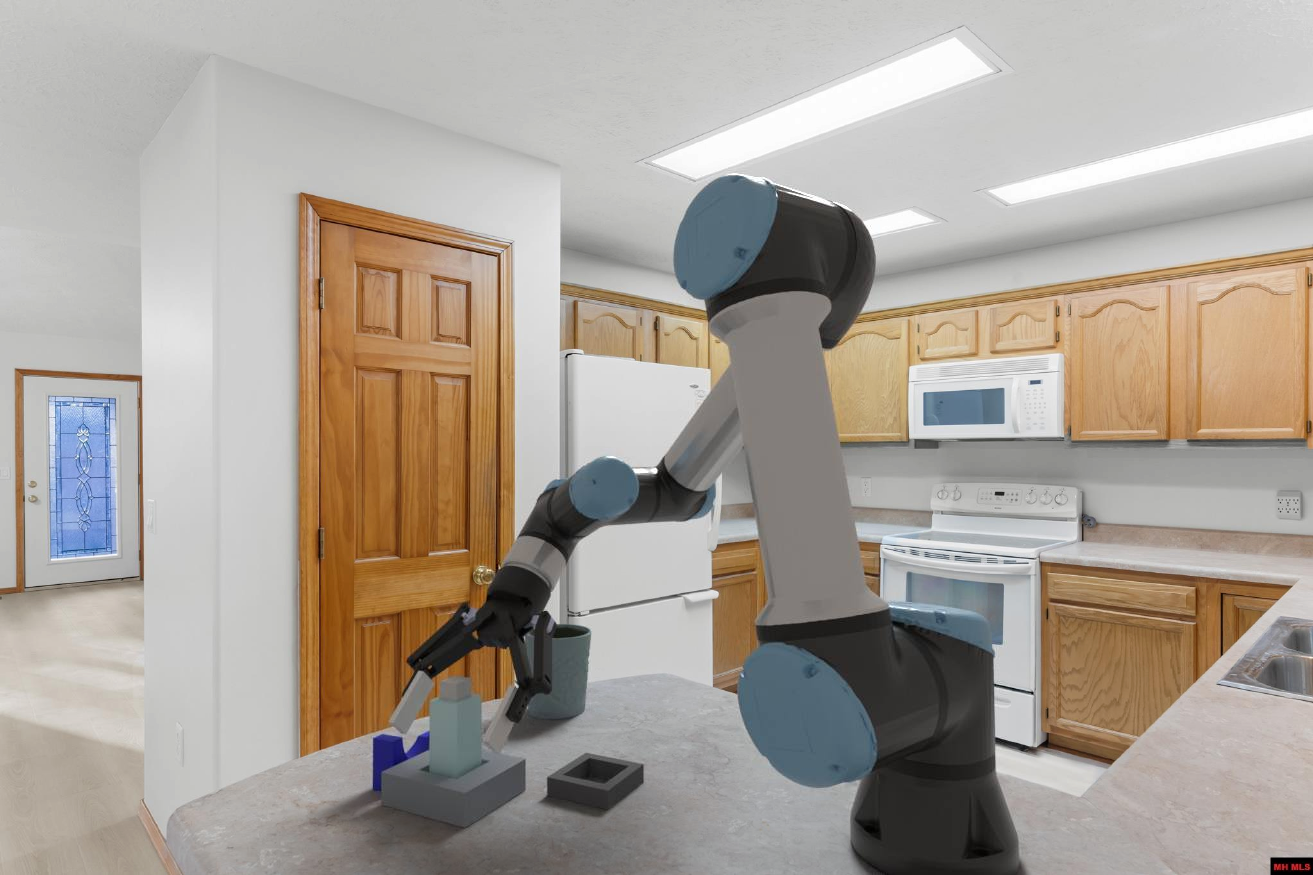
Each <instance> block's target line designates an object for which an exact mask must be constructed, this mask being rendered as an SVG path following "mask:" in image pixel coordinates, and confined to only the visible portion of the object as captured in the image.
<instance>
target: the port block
mask: <svg viewBox="0 0 1313 875" xmlns="http://www.w3.org/2000/svg"><path fill="white" fill-rule="evenodd" d="M526 764H527V763H526V758H524V757H519V756H514V755H509V754H504V753H500V754H496V753H493V752H492V751H491V750H490V751H489V750H485V749H482V766H480V767H478V768H476V769H474V770H472V771H471V772H469V773H467V774H465V775H463V776H461V777H459V778H457V779H454V778H450V777H446V776H442V775H438V774H434V773H429V750H428V751H426V752H424V753H421V754H419V755H417V756H415V757H413V758H411V759H408V760H406V761H404V762H402V763H400V764H398V765H396V766H393V767H391V768H389V769H387V770H385V771H383V772H381V792H380V796H381V799H380V800H381V801H380V802H381V806H385V807H390V808H393V809H397V810H400V811H403V812H407V813H410V814H413V815H417V816H421V817H425V818H428V819H433V820H436V821H439V822H443V823H447V824H450V825H453V826H457V827H459V828H464V829H466V828H467V827H469V826H471V825H473V824H474V823H475V822H477V821H479V820H480V819H482V818H483V817H485V816H487V815H488V814H489V813H491V812H493V811H495V810H496V809H498V808H500V807H501V806H503V805H505V804H506V803H508V802H509V801H510V800H512V799H514V798H515V797H517V796H518V795H520V794H521V793H524V792H525V791H526V787H527V786H526V784H527V781H526V780H527V779H526V776H527V774H526V766H527V765H526Z"/></svg>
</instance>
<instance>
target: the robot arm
mask: <svg viewBox="0 0 1313 875" xmlns="http://www.w3.org/2000/svg"><path fill="white" fill-rule="evenodd" d="M674 239H675V240H674V245H673V253H672V254H673V259H672V260H673V269H674V276H675V278H676V281H677V283H678V284H679V286H680V288H681V289H682V290H684V291H685V292H686V293H687V294H688V295H690V296H691V297H692V298H693V299H696V300H701V301H704V308H705V310H706V318H707V325H708V330H709V333H710V334H711V335H713V337H715V338H716V339H718V340H720V341H721V342H722V343H724V344H725V345H726V346H727V348H728V349H727V350H728V356H729V362H730V363H729V365H728V366H727V367H726V369H725V371H723V373H722V374H721V376H720V377H719V379H718V380H717V382H716V383H715V385H714V386H713V387H712V388H711V390H710V391H709V393H707V395H706V396H705V398H704V400H703V401H702V402H701V404H700V405H699V407H698V408H697V409H696V411H695V413H694V414H693V416H691V418H690V420H689V421H688V422H687V424H686V425H685V427H683V429H682V431H681V432H680V433H679V435H678V436H677V438H676V439H675V440H674V442H673V443H672V445H671V446H670V447H669V449H668V450H667V452H666V453H665V454H664V455H663V457H662V458H661V460H660V461H659V463H658V464H657V465H655V466H636V467H634V466H633V467H631V465H630V464H629V463H627V462H626V461H623V460H621V459H619V458H618V457H616V456H613V455H602V456H599V457H597V458H595V459H593V460H592V461H590V462H588V463H586V464H585V465H583V466H581V467H580V468H579V469H577V471H576V472H575V473H574V474H572V475H571V476H570V477H564V478H561V479H560V478H555V479H553V480H551V481H550V482H549V483H548V484H547V485H546V487H545V489H544V490H543V492H541V493H540V494H539V496H537V499H536V502H535V505H534V507H533V509H532V510H531V512H530V514H529V515H528V518H527V519H526V521H525V523H524V524H523V526H522V527H521V528H522V529H521V530H520V532H519V533H518V535H517V537H516V539H515V541H514V542H513V544H512V545H511V547H510V549H509V551H508V552H507V554H506V556H505V557H504V559H503V561H502V562H501V565H500V568H499V569H498V570H497V572H496V574H495V575H494V577H493V579H492V580H491V582H490V584H489V585H488V588H487V589H486V598H485V601H484V604H483V605H482V606H480V607H479V608H478V609H477V608H473V607H471V606H470V605H469V603H467V602H463V603H461V604H460V606H459V607H458V608H457V609H456V611H455V613H454V614H453V615H452V617H450V618H449V619H448V620H447V621H446V622H444V624H443V625H442V626H441V627H440V628H438V629H437V631H435V632H434V633H433V634H432V635H431V636H430V637H428V639H427V640H425V641H424V642H423V643H422V644H421V645H420V646H419V647H418V648H417V649H416V650H414V651H413V652H412V653H411V654H410V655H409V656H408V657H407V658H406V661H405V662H406V664H407V665H408V666H409V667H410V668H411V669H412V670H413V673H412V676H411V677H410V678H409V681H408V683H407V684H406V685H405V688H403V691H402V693H401V700H400V702H399V703H398V704H397V707H396V708H395V710H394V712H393V713H392V715H391V716H390V719H388V723H389V724H390V725H391V726H392V727H394V728H395V729H396V730H397V731H398V732H399V733H400V734H403V735H407V734H408V733H409V730H410V728H411V726H412V724H413V723H414V721H415V720H416V718H417V716H418V714H419V712H420V711H421V709H422V708H423V705H424V703H425V702H426V700H427V698H428V696H429V694H430V693H431V691H432V690H433V687H435V684H436V683H435V682H434V681H433V679H434V678H435V677H436V676H439V674H441V673H443V672H444V671H445V670H446V669H448V668H450V667H451V666H452V665H454V664H455V663H457V662H458V661H460V660H461V659H463V658H464V657H466V656H467V655H469V654H470V653H471V652H473V651H478V650H481V649H482V648H484V647H486V648H496V647H497V648H499V649H501V650H507V649H508V650H509V655H510V657H511V658H510V659H511V662H512V666H513V670H514V675H515V680H514V683H515V684H516V685H517V686H518V687H517V686H516V685H513V684H510V685H509V686H508V687H507V690H506V692H505V694H504V695H503V698H502V699H501V702H500V704H499V706H498V708H497V710H496V712H495V714H494V716H493V717H492V720H491V722H490V724H489V726H488V728H487V730H486V732H485V734H484V736H483V738H482V743H484V745H486V746H487V747H488V749H490V751H491V752H493V753H496V754H501V752H502V749H503V748H504V745H505V743H506V742H507V740H508V737H509V736H510V732H511V731H512V728H513V726H514V725H515V723H516V724H518V723H520V721H521V720H522V719H523V716H524V714H525V712H526V711H527V709H528V704H529V702H530V700H531V698H532V697H534V696H535V695H536V694H539V693H543V694H545V695H547V694H549V693H550V692H551V691H552V638H553V635H554V632H555V630H556V627H557V624H558V623H557V621H555V619H554V618H553V617H552V615H551V614H550V613H549V611H548V610H545V608H546V607H547V604H548V602H549V600H550V599H551V597H552V594H551V593H552V592H553V591H554V590H555V588H556V586H557V584H558V582H559V580H560V578H561V576H562V574H563V573H564V570H565V568H566V566H567V564H568V562H569V560H570V558H571V556H572V554H573V553H574V551H575V549H576V547H577V545H578V543H579V542H580V541H582V540H583V539H584V538H586V537H588V536H590V535H592V534H593V533H594V532H597V531H598V530H599V529H600V528H604V527H608V526H621V525H623V526H624V525H637V524H638V525H639V524H647V523H649V524H650V523H651V524H653V523H667V522H668V523H669V522H676V523H677V522H680V523H681V522H682V523H683V522H687V521H690V520H697V519H701V518H703V517H705V516H707V515H708V514H709V513H710V512H711V511H712V509H713V507H714V500H715V499H716V497H717V491H716V490H717V488H716V484H715V482H716V481H717V480H718V479H719V477H720V476H721V475H722V473H723V472H724V471H725V470H726V468H727V467H728V466H729V464H730V463H731V462H732V461H733V460H734V459H735V458H736V456H737V455H738V453H739V452H740V451H741V450H742V449H743V448H744V454H745V462H746V466H747V467H746V468H747V474H748V481H749V485H750V486H749V487H750V492H751V498H752V504H753V511H754V518H755V522H756V523H755V524H756V529H757V531H756V532H757V536H758V541H759V549H760V555H761V561H762V567H763V573H764V574H763V575H764V579H765V585H766V586H765V587H766V592H767V597H768V598H767V601H766V603H765V605H764V606H763V608H762V609H761V611H760V612H759V613H758V615H757V616H756V618H755V619H754V626H755V632H756V638H757V641H756V642H757V646H758V647H756V648H755V649H754V650H753V651H752V652H751V653H750V654H749V655H748V656H747V657H746V658H745V660H744V661H743V664H742V669H743V670H741V671H740V672H739V675H738V678H737V690H736V692H737V693H736V694H737V702H738V706H739V707H738V708H739V712H740V716H741V720H742V723H743V725H744V727H745V730H746V732H747V734H748V735H749V738H750V739H751V742H752V743H753V745H754V746H755V747H756V749H757V750H758V752H759V754H760V755H761V756H762V757H764V758H766V759H767V761H768V762H769V764H770V765H771V767H772V768H773V769H774V770H775V771H777V772H778V773H779V774H780V775H781V776H783V777H785V778H786V779H788V780H790V781H791V782H793V783H796V784H798V785H800V786H804V787H806V788H807V787H808V788H813V789H825V788H831V787H833V786H838V785H841V784H843V783H853V782H857V781H859V785H858V787H857V791H856V794H855V797H854V801H853V803H852V806H851V810H850V817H849V819H850V820H849V822H850V823H849V824H850V827H849V828H850V830H849V831H850V832H849V833H850V841H851V844H852V847H853V849H854V851H855V853H857V854H858V855H859V856H860V858H862V859H863V860H864V861H865V862H867V863H868V864H870V865H871V866H872V867H874V868H876V869H877V870H879V871H881V872H883V873H885V874H887V875H1016V874H1017V872H1018V871H1019V867H1020V842H1019V836H1018V832H1017V829H1016V826H1015V824H1014V820H1013V818H1012V815H1011V812H1010V809H1009V807H1008V804H1007V802H1006V798H1005V795H1004V792H1003V790H1002V787H1001V784H1000V781H999V778H998V774H997V765H996V764H997V762H996V758H997V757H996V714H995V713H996V712H995V711H996V710H995V672H994V671H995V665H994V659H995V658H996V653H995V649H994V648H993V640H992V639H993V638H992V636H993V635H992V629H991V627H992V626H991V625H990V623H989V621H988V620H987V619H986V617H985V616H983V615H982V614H980V613H978V612H975V611H972V610H967V609H962V608H957V607H951V606H945V605H937V604H929V603H920V602H911V601H903V600H902V601H901V600H890V599H889V600H888V599H887V600H886V599H883V598H882V597H881V596H879V595H877V594H876V592H873V591H872V590H871V589H870V587H869V586H868V585H867V581H866V574H865V571H864V565H863V564H864V563H863V561H862V560H863V559H862V555H861V553H862V552H861V547H860V543H859V536H858V533H857V532H858V531H857V527H856V521H855V517H854V516H855V515H854V510H853V506H852V500H851V495H850V489H849V484H848V479H847V474H846V473H847V472H846V468H845V462H844V458H843V453H842V452H843V451H842V447H841V442H840V440H841V439H840V435H839V430H838V425H837V420H836V415H835V410H834V404H833V397H832V393H831V387H830V384H829V377H828V372H827V367H826V361H825V356H824V352H829V351H832V350H834V349H835V348H836V347H837V345H838V344H839V343H840V342H841V341H842V339H843V338H844V337H845V335H847V334H848V332H849V331H850V329H851V328H852V327H853V325H854V324H855V322H856V320H857V319H858V318H859V315H860V314H861V313H862V311H863V309H864V307H865V305H866V303H867V301H868V299H869V295H870V293H871V291H872V287H873V284H874V281H875V275H876V265H877V257H876V256H877V255H876V251H875V245H874V240H873V238H872V236H871V233H870V231H869V230H868V228H867V226H866V224H865V223H864V222H863V220H862V219H861V218H860V217H859V216H858V215H857V214H856V213H855V212H853V211H852V210H851V209H849V208H848V207H847V206H845V205H844V204H840V203H838V202H835V201H831V200H828V199H823V198H821V197H818V196H814V195H811V194H807V193H805V192H802V191H799V190H795V189H792V188H790V187H786V186H783V185H780V184H777V183H773V182H772V181H771V180H770V179H768V178H766V177H763V176H760V177H759V176H755V177H754V176H749V175H745V174H739V173H728V174H725V175H721V176H719V177H717V178H715V179H713V180H712V181H710V182H709V183H708V184H707V185H705V186H704V187H703V188H702V189H700V191H699V192H698V193H697V194H696V196H694V198H693V199H692V201H691V202H690V203H689V205H688V207H687V208H686V210H685V213H684V216H683V218H682V220H681V221H680V223H679V225H678V229H677V232H676V235H675V238H674ZM533 629H534V630H535V631H534V666H533V675H532V671H531V667H530V663H529V659H528V655H527V647H526V643H525V635H526V634H528V633H529V632H530V631H532V630H533ZM474 632H476V636H475V634H474ZM487 747H486V748H487Z"/></svg>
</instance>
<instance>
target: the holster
mask: <svg viewBox="0 0 1313 875" xmlns="http://www.w3.org/2000/svg"><path fill="white" fill-rule="evenodd" d="M644 768H645V766H644V763H640V762H635V761H631V760H630V761H629V760H626V759H625V760H624V759H620V758H617V757H616V758H615V757H609V756H605V755H600V754H596V753H589V752H584V753H583V754H582V755H580V756H578V757H577V758H575V759H574V760H572V761H570V762H569V763H567V764H566V765H564V766H562V767H561V768H559V769H558V770H556V771H554V772H553V773H551V774H550V775H548V776H546V793H547V794H546V796H549V797H553V798H557V799H562V800H566V801H570V802H573V803H578V804H582V805H583V804H584V805H587V806H591V807H595V808H600V809H603V810H606V811H607V810H610V809H611V808H612V807H613V806H615V805H616V804H617V803H618V802H620V801H621V800H622V799H623V798H625V797H626V796H627V795H629V794H630V793H631V792H632V791H634V790H635V789H636V788H638V787H639V786H641V785H642V783H643V782H645V779H644V778H645V775H644V774H645V773H644V772H645V769H644ZM589 776H593V777H598V778H602V779H605V780H607V782H605V783H602V782H597V781H593V780H592V781H591V780H587V779H585V778H587V777H589Z"/></svg>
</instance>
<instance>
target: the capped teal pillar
mask: <svg viewBox="0 0 1313 875" xmlns="http://www.w3.org/2000/svg"><path fill="white" fill-rule="evenodd" d="M439 687H440V688H439V689H440V690H439V692H440V694H439V696H437V697H435V698H432V699H429V731H430V748H429V773H434V774H438V775H442V776H446V777H450V778H454V779H457V778H459V777H461V776H463V775H465V774H467V773H469V772H471V771H472V770H474V769H476V768H478V767H480V766H482V750H483V748H482V743H483V741H482V740H483V738H482V735H483V734H482V733H483V732H482V718H483V717H482V714H483V712H482V710H483V709H482V706H483V705H482V703H483V702H482V701H483V700H482V696H483V695H482V694H477V693H472V678H471V677H466V676H460V675H453V676H451V677H448V678H444V679H442V680H439Z"/></svg>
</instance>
